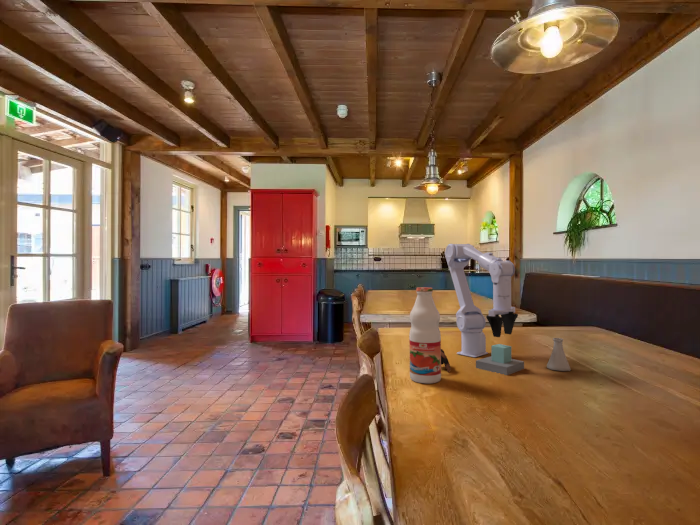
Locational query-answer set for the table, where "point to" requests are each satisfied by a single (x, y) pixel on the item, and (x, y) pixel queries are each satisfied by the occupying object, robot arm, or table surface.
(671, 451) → the table surface
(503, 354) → the teal block
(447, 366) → the brown broken pot
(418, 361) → the fruit juice
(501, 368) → the gray base
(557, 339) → the flask
